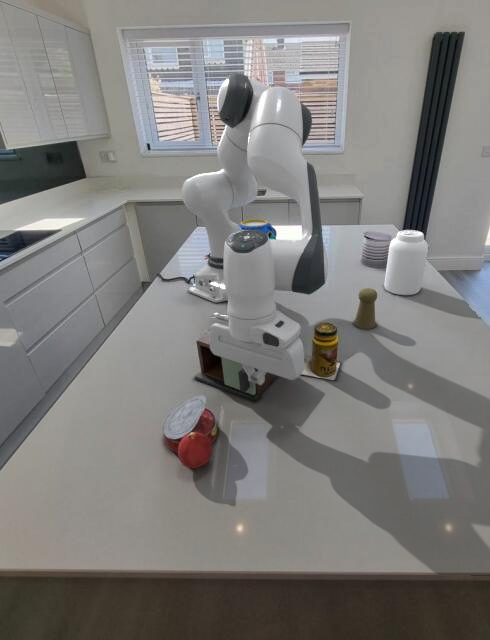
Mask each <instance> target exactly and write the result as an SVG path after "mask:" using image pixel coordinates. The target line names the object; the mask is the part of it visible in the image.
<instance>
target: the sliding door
mask: <svg viewBox="0 0 490 640" xmlns="http://www.w3.org/2000/svg"><path fill="white" fill-rule="evenodd" d="M221 359H222V367H223V375H224V383H225V385H228V386H230V387H233V388H236V389H238V390H240V391H242V392H247V393H249V394H252V395H255V394H256V388H255V383H253V382H250V381H248V375H247V373H246V372H245V370H244V369H243V367H242V364H241V363H238V362H235V361H232V360H229V359H226V358H223V357H221Z"/></svg>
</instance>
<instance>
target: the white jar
mask: <svg viewBox="0 0 490 640" xmlns="http://www.w3.org/2000/svg"><path fill="white" fill-rule="evenodd" d="M428 251H429V244H428V242H427V240H425V235H424V233H423V232H422V231H419V230H415V229H404V230H400V231H398V232H397V233H396V237H393V238H392V239H391V243H390V246H389V253H388V261H387V266H386V268H385V269H386V270H385V275H384V284H383V285H384V289H385V290H386V291H387V292H389V293H392V294H394V295H399V296H412V295H416V294H418V293H419V292H420V291H421V289H422V285H423V278H424V273H425V267H426V263H427V257H428Z"/></svg>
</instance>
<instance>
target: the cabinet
mask: <svg viewBox="0 0 490 640" xmlns="http://www.w3.org/2000/svg"><path fill="white" fill-rule="evenodd" d="M209 333H210V330H209V331H208V332H206V333H205V334H203V335H201V336H200V337H199V338H197V339H196V340H195V343H196V349H197V354H198V362H199V366H200V372H198V373H197V374H195V375H194V379H195V380H197V381H200V382H201V383H205V384H208V385H210V386H213V387H216V388H218V389H221V390H223V391H225V392H229V393H232V394H234V395H236V396H240V397H242V398H244V399H247V400H250V401H253V402H256V401H257V400H258V399H259V398H260V394H261V393H263V392H264V390H265V389H266V388H267V387H268V386H269V385H270V384H271V383H272V382H273V380H274V379H276V377H278V375H274V374H271V373H268V372H267V373H266V374H265V381H264V383H263V384H262V385H259V384H256V383H255V388H256V394H255V395H252V394H249V393H247V392H242V391H240V390H238V389H236V388H233V387H230V386H228V385H225V383H224V375H223V367H222V359H221V357H220V356H217V355H214V354H213V353H212V351H211V350H210V342H209ZM254 369H255V371H256V372H258V369H256V368H254Z"/></svg>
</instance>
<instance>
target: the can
mask: <svg viewBox="0 0 490 640" xmlns="http://www.w3.org/2000/svg"><path fill="white" fill-rule="evenodd" d="M392 239H394V237H393V236H392V235H391V234H390V233H387V232H384V231H379V230H367V231H365V232H363V242H362V251H361V264H362V265H364V266H365V267H371V268H383V267H387V261H388V253H389V246H390V243H391V241H392Z"/></svg>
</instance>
